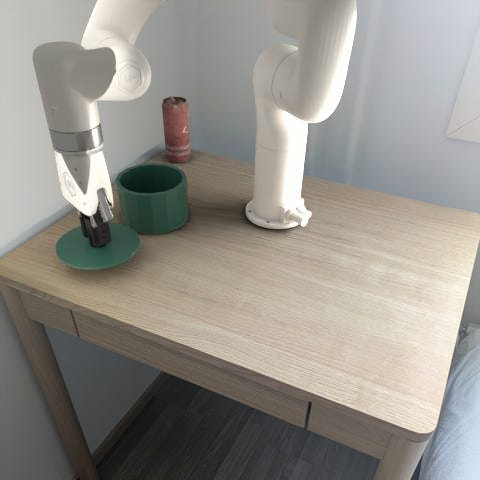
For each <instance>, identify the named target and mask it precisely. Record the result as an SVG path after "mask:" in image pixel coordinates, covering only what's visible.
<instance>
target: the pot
mask: <svg viewBox="0 0 480 480" xmlns="http://www.w3.org/2000/svg"><path fill="white" fill-rule="evenodd" d="M114 179H115V180H114V181H115V188H116V194H117V201H118V206H119V212H120V217H121V221H122V224H123V225H126V226H128V227H130V228H132V229H133V230H135V231H136V232H137V234H141V235H142V234H143V235H162V234H167V233H170V232H174V231H176V230H178V229H180V228H181V227H183V226H184V225H185V224H186V223H187V222H188V220H189V213H190V208H189V207H190V206H189V192H188V191H189V190H188V176H187V175H186V173H185V171H184V170H183V169H181V168H179V167H178V166H176V165H171V164H168V163H158V162H148V163H140V164H139V163H138V164H136V165H133V166H128V167H127V168H124V170H122V171H120V172H119V173H117V176H116V178H114Z"/></svg>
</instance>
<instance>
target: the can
mask: <svg viewBox="0 0 480 480" xmlns="http://www.w3.org/2000/svg"><path fill="white" fill-rule="evenodd" d="M161 112H162V122H163V124H162V125H163V135H164V146H165V148H164V149H165V157H166V159H167V160H168V162H170V163H173V164H183V163H187V162H188V161H190V159H191V157H192V151H191V150H192V149H191V132H190V131H191V130H190V113H189V112H190V111H189V103H188V101H187V99H186V98H185V97H182V96H168V97H165V98H164V99H162V103H161Z"/></svg>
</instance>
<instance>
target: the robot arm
mask: <svg viewBox="0 0 480 480" xmlns="http://www.w3.org/2000/svg"><path fill="white" fill-rule="evenodd" d="M167 1H168V0H96V2H95V5H94V7H93V9H92V12H91V15H90V17H89V19H88V22H87V24H86V27H85V30H84V32H83V35H82V39H81V42H80V43H78V42H73V41H49V42H45V43H42V44H39V45H38V46H36V47H35V49H34V50H33V52H32V64H33V68H34V72H35V75H36V76H35V77H36V81H37V86H38V90H39V93H40V98H41V102H42V106H43V111H44V114H45V119H46V123H47V127H48V132H49V135H50V140H51V144H52V148H53V150H54V157H55V164H56V171H57V175H58V176H57V177H58V181H59V185H60V186H59V187H60V190H61V194H62V196H63V197H64V198H65V200H66V201H68V202H69V203H70V204H71V205H72V206H73V207H75V208H76V212H77V213H76V214H77V215H78V216H79V217H78V220H79V222H80V226H81V228H82V233H83V236H84V237H85V238H87V237H88V235H87V230H86V226H85V221H84V215H87V216H90V220H91V224H92V226H90V230H91V235H92V239H93V244H94V246H95V247H99V246H102V245H104V244H107V243H109V242H111V240H112V239H111V234H110V228H109V222H111V221H114V215H113V211H112V208H114V194H113V188H112V183H111V179H110V175H109V170H108V166H107V161H106V159H105V155H104V151H103V149H102V148H103V147H104V144H105V143H104V135H103V130H102V124H101V118H100V113H99V107H98V105H99V104H98V101H103V102H104V101H107V102H109V101H110V102H129V101H134V100H136V99H139V98H140V97H142V96H143V95H144V94H145V93H146V92H147V91H148V90H149V87H150V85H151V82H152V68H151V64H150V62H149V60H148V58H147V57H146V56H145V54H144V53H143V52H142V51H141V50H140V48H138V47H137V46H135V44H136V41H137V39H138V37H139V35H140V32H141V31H142V28H143V27H144V25H145V24H146V22H147V20H148V19H149V18H150V17H151V15H152V14H153V13H154V12H155V11H156V10H157V9H158V8H159V7H160V6H161V5H163V4H165V2H167ZM266 7H267V9H266V11H267V18H268V22H269V24H270V25H271V27H272V28H273V29H274V30H275V31H276V32H277V33H279V34H281V35H283V36H285V37H287V38H289V39H292V40H294V41H296V42H297V46H296V45H292V44H289V43H276V44H272V45H270V46H268V47H266V48H265V49H264V50H263V51H262V52H261V53H260V54H259V56H258V58H257V60H256V62H255V64H254V66H253V67H254V68H253V74H252V88H253V96H254V104H255V105H254V106H255V122H256V123H255V147H254V148H255V150H254V172H253V173H254V175H253V198H252V199H251V200H250V201H248V203H247V204H246V206H245V216H246V218H247V220H248V221H250V222H251V223H252V224H254V225H256V226H258V227H261V228H265V229H269V230H283V229H284V230H285V229H291V228H294V227H297V226H298V225H299V226H301V227H306V226H307V224H308V222H309V219H310V218H311V217H312V212H311V211H310V210H307V209H306V206H305V205H304V203H305V199H304V198H303V197H301V193H302V185H303V175H304V166H305V165H304V164H305V158H306V157H305V156H306V149H307V148H306V147H307V139H308V138H307V137H308V124H316V123H317V124H318V123H320V122H323V121H325V120H326V119H328V118H329V117H330V116H331V115H332V114H333V113H334V112H335V110H336V108H337V106H338V104H339V103H340V100H341V98H342V94H343V91H344V86H345V81H346V78H347V74H348V68H349V62H350V58H351V53H352V48H353V43H354V37H355V34H356V33H355V32H356V27H357V19H358V9H357V8H358V6H357V0H267V5H266ZM96 213H101V215H100V216H97V218H96V217H95V214H96Z"/></svg>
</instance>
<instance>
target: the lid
mask: <svg viewBox="0 0 480 480" xmlns="http://www.w3.org/2000/svg"><path fill="white" fill-rule="evenodd" d="M100 215H101V212H99V213H96V214H95V217H96V218H97V216H100ZM84 221H85V226H86V230H87V235H88V237H87V238H85V237H84V236H83V233H82V228H81V225H79V226H76V227H74V228H72V229H70V230H68V231H67V232H65V233H64V234H63V235H62V236H61V237H60V238H58V240H57V241H56V244H55V254H56V256H57V258H58V260H59V261H60V262H62V263H63V264H65V265H66V266H67V267H70V268H74V269H78V270H84V271H95V270H97V271H98V270H105V269H110V268H113V267H116V266H119V265H121V264H123V263H125V262H127V261H129V260H130V259H132V258H133V257H134V256H135V255H136V254H137V253H138V251H139V250H140V248H141V247H140V246H141V238H140V236H139V233H137V232H136V231H135V230H133V229H132V228H130V227H128V226H126V225H124V224H123V223H119V222H111V221H109V228H110V234H111V239H112V240H111V242H109V243H107V244H104V245H102V246H99V247H95V246H94V244H93V239H92V235H91V230H90V226H92V224H91V220H90V216H87V215H84Z"/></svg>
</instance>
